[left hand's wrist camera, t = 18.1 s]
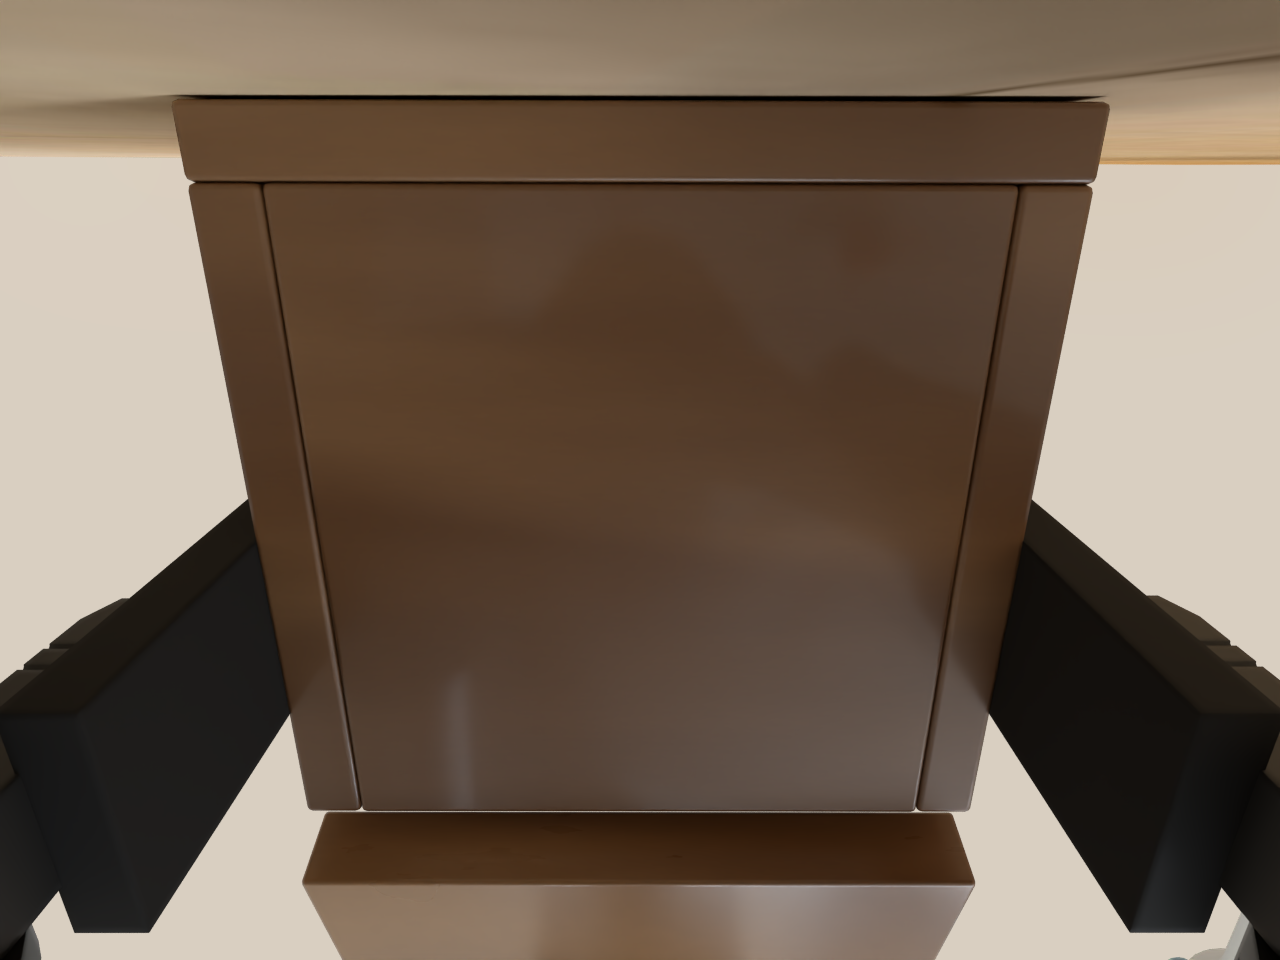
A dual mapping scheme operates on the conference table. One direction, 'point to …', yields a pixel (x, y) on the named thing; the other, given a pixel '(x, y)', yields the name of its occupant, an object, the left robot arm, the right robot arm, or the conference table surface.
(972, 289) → the chest
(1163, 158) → the conference table surface
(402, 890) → the lid
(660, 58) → the conference table surface
